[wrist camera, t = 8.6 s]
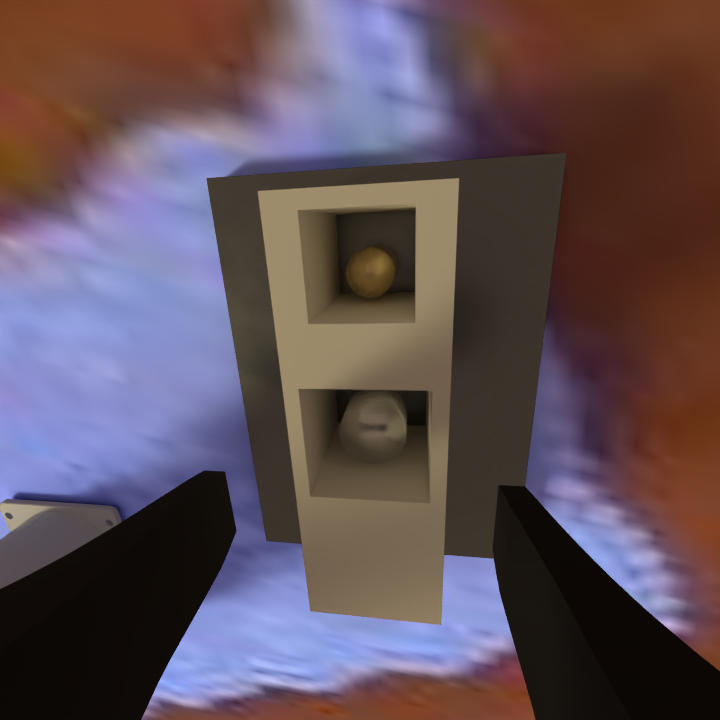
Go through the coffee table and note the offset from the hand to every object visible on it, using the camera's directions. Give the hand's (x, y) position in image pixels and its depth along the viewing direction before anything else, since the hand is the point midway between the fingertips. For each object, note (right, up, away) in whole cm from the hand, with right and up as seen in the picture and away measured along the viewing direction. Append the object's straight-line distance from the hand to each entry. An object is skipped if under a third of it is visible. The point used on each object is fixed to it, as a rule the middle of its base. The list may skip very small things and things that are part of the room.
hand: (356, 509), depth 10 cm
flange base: (+1, +3, +8) cm, 8 cm away
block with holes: (+1, +3, +7) cm, 7 cm away
